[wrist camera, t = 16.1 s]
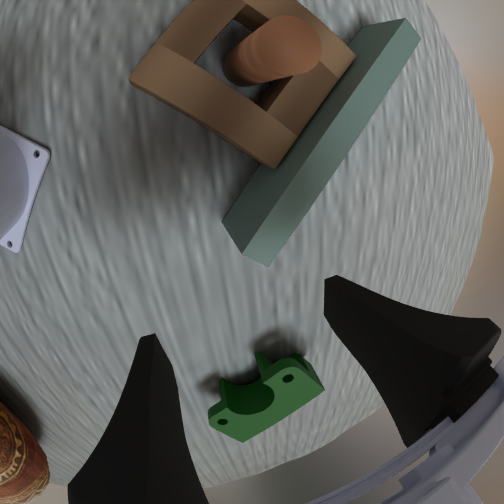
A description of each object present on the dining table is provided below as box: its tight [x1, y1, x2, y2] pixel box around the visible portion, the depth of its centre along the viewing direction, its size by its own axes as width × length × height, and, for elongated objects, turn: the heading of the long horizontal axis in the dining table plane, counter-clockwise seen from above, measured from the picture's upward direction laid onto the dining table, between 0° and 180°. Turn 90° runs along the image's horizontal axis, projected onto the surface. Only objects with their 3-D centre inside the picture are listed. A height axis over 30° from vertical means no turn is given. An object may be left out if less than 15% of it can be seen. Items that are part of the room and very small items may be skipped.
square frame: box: [128, 0, 356, 169], centre depth 14 cm, size 10×10×3 cm
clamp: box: [208, 352, 325, 443], centre depth 27 cm, size 12×6×9 cm, turn 122°
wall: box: [222, 18, 421, 267], centre depth 16 cm, size 2×20×5 cm, turn 144°
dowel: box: [223, 15, 322, 87], centre depth 12 cm, size 3×3×7 cm
